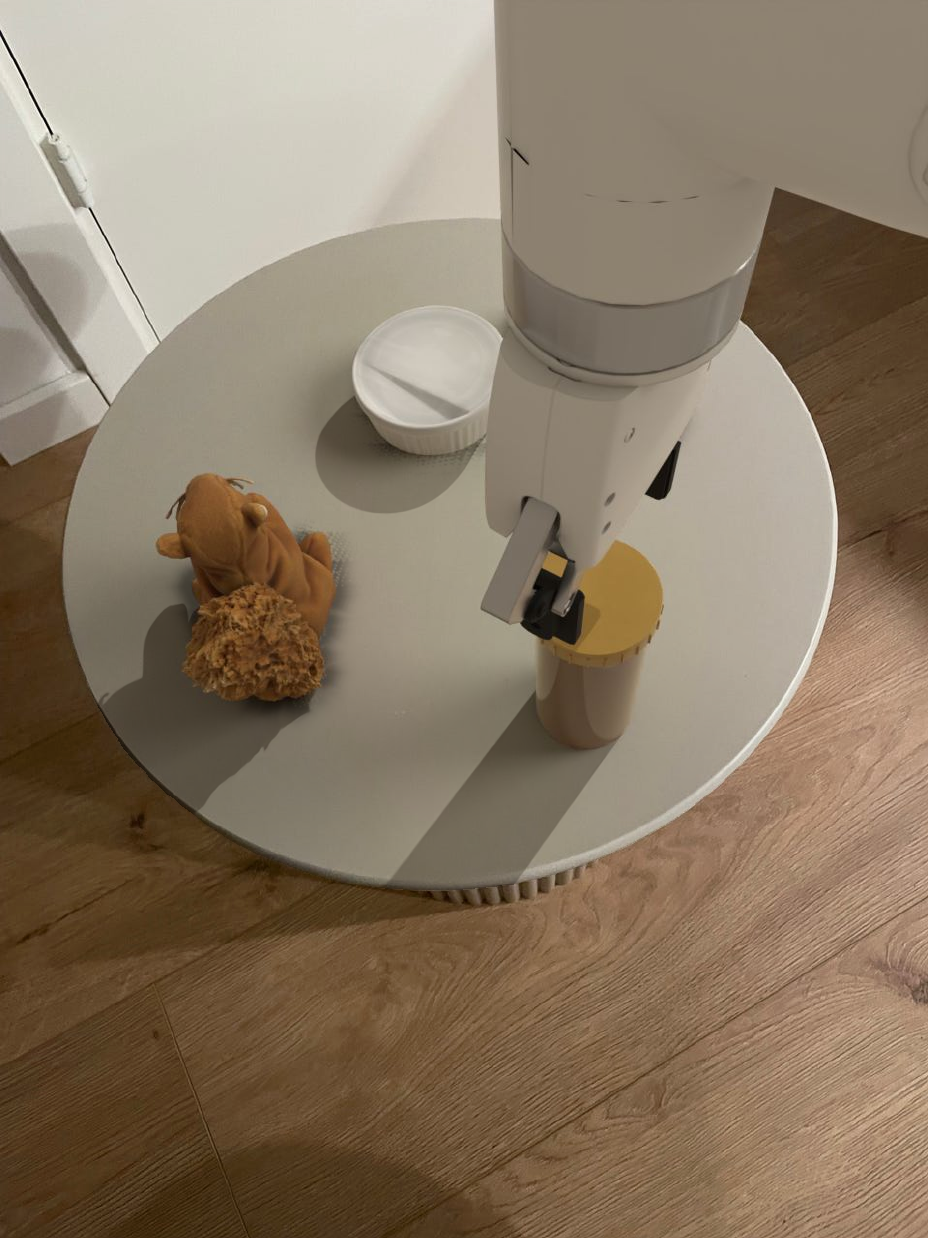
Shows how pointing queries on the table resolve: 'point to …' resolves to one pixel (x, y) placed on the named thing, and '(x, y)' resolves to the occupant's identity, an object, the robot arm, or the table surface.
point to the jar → (585, 698)
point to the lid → (612, 608)
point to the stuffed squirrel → (250, 593)
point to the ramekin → (428, 378)
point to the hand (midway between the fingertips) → (593, 551)
